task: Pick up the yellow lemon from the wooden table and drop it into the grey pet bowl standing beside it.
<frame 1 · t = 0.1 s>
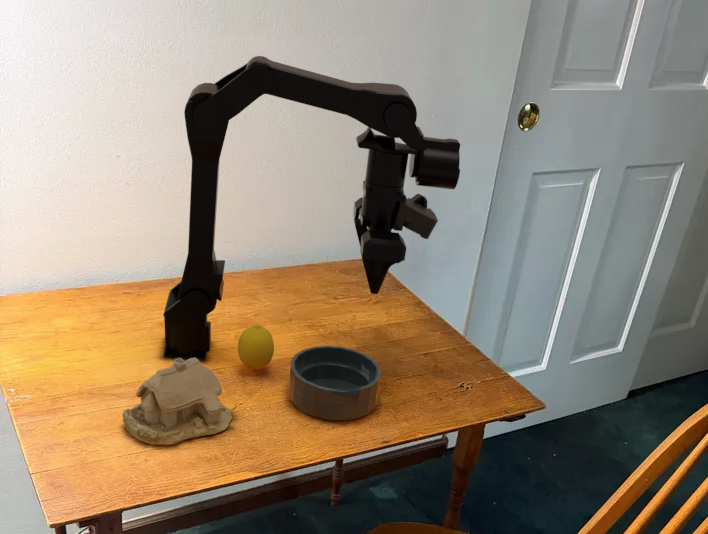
hand: (371, 281, 124), 15 cm above the table, tool pointing down, fingers open, 9 cm apart
ceramic model: (179, 424, 110), on the table
lemon: (254, 371, 125), on the table
grey pet bowl: (332, 398, 121), on the table
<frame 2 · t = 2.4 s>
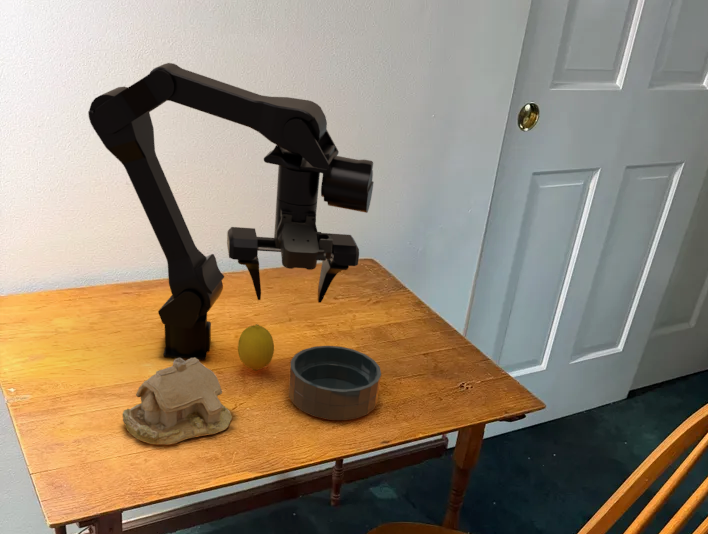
hand: (289, 300, 120), 12 cm above the table, tool pointing down, fingers open, 9 cm apart
nothing on the table moved.
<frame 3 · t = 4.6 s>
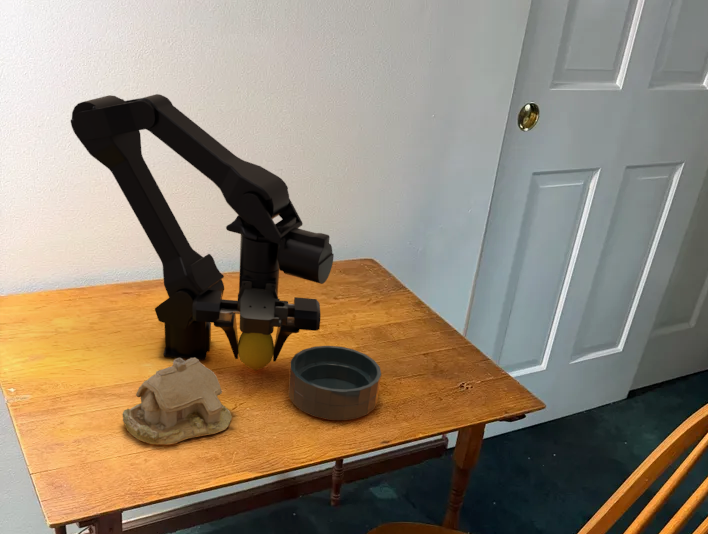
hand: (255, 359, 124), 2 cm above the table, tool pointing down, fingers closed on lemon, 5 cm apart
lemon: (254, 371, 125), on the table, touching gripper
everything else where it was.
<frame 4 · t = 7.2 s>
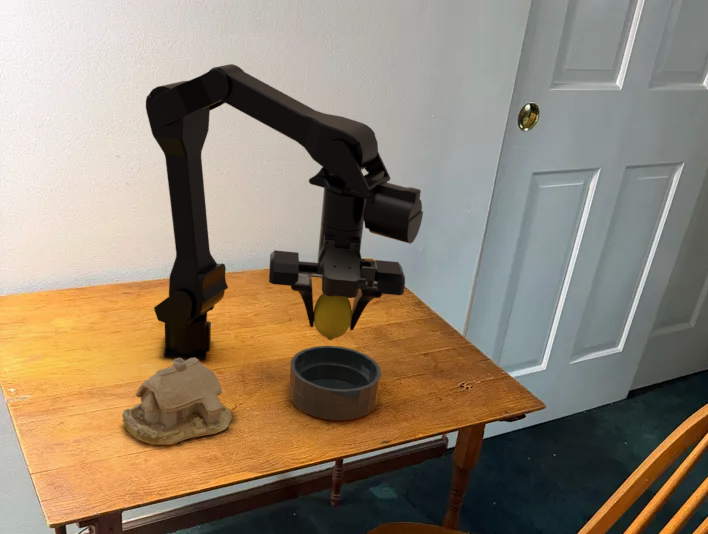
hand: (331, 327, 115), 12 cm above the table, tool pointing down, fingers closed on lemon, 5 cm apart
lemon: (330, 340, 116), point 9 cm above the table, touching gripper
everything else where it was.
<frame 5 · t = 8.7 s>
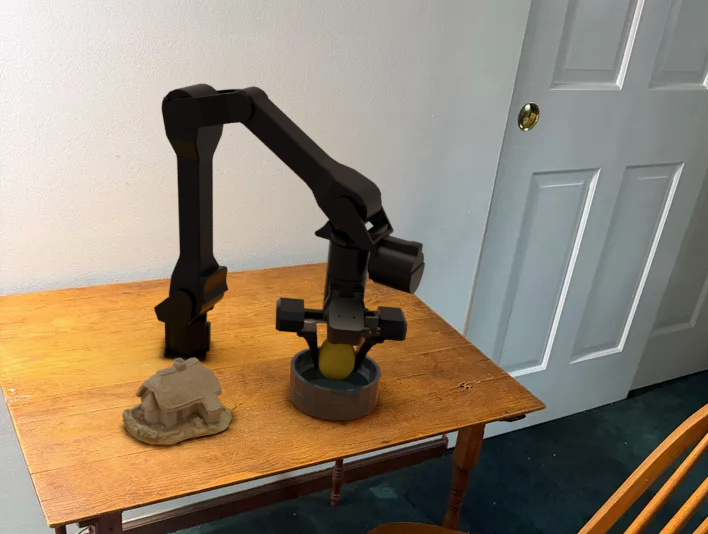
hand: (335, 370, 119), 5 cm above the table, tool pointing down, fingers closed on lemon, 5 cm apart
lemon: (333, 382, 120), point 3 cm above the table, touching gripper
everything else where it was.
when the fingers open (2 cm above the table, at t = 10.0 s): lemon stays where it is, resting on grey pet bowl.
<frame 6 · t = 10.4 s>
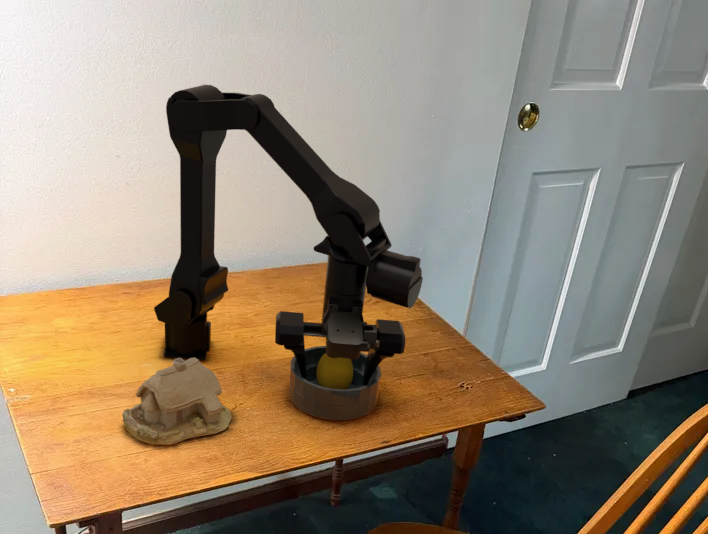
hand: (334, 382, 120), 3 cm above the table, tool pointing down, fingers open, 9 cm apart
lemon: (332, 396, 121), resting on grey pet bowl
everything else where it was.
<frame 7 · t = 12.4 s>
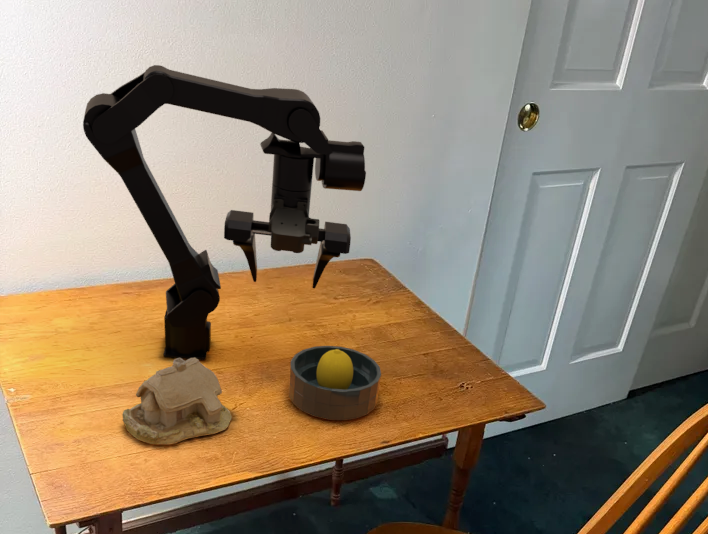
hand: (284, 284, 124), 12 cm above the table, tool pointing down, fingers open, 9 cm apart
nothing on the table moved.
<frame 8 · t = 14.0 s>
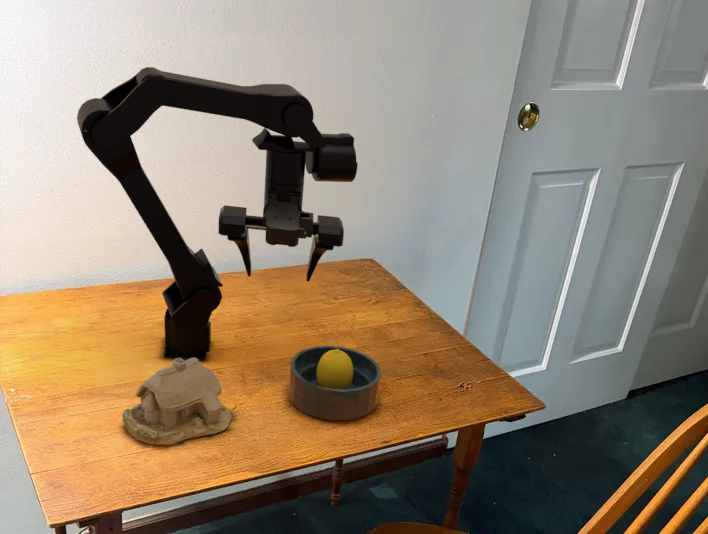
hand: (278, 278, 126), 12 cm above the table, tool pointing down, fingers open, 9 cm apart
nothing on the table moved.
at the end: lemon inside the target area in the grey pet bowl (0.1 cm from its centre), point 0.3 cm above the grey pet bowl's base; the gripper is holding nothing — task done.
